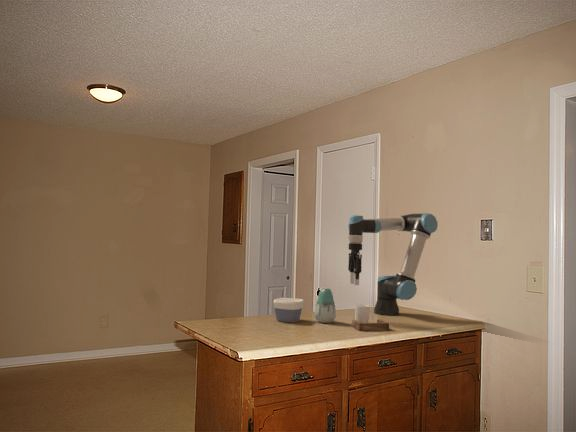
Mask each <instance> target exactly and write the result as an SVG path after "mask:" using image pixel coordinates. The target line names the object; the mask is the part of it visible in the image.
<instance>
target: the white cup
mask: <svg viewBox="0 0 576 432" xmlns="http://www.w3.org/2000/svg"><path fill="white" fill-rule="evenodd" d="M370 308H371V307H370V305H368V304H361V303H360V304H359V303H358V304H354V317H355V318H354V320H357V321H359V322H361V323H369V320H370Z"/></svg>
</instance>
